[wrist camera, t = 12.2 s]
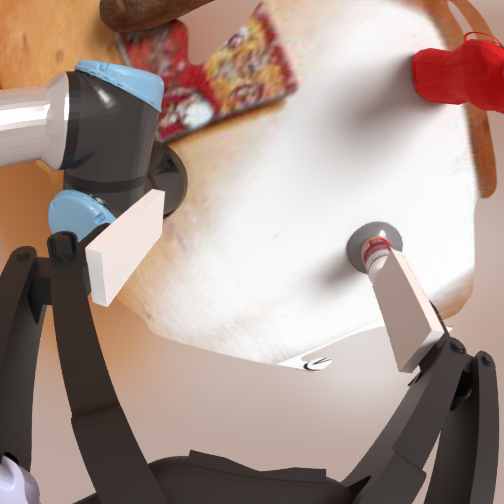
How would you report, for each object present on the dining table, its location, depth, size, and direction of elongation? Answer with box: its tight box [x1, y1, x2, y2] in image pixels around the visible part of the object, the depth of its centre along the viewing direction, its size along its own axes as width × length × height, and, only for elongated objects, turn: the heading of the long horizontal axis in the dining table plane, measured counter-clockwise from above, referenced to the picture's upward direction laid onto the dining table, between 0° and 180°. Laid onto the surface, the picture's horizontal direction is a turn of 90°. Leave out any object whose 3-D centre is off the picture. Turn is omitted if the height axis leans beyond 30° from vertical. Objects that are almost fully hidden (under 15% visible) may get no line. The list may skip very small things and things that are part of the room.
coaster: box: [348, 222, 403, 274], centre depth 52 cm, size 11×11×1 cm
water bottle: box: [412, 32, 504, 114], centre depth 24 cm, size 9×11×25 cm
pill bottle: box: [361, 236, 394, 284], centre depth 47 cm, size 6×6×11 cm
